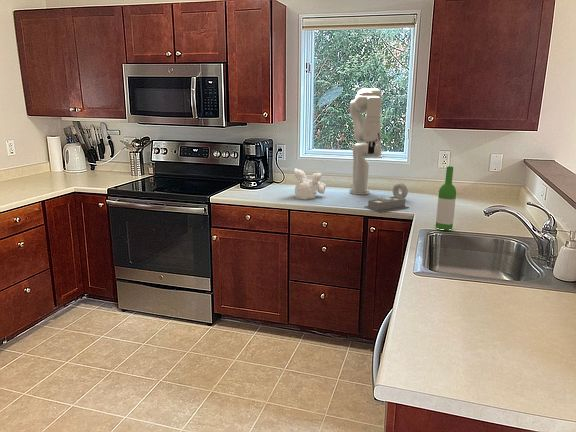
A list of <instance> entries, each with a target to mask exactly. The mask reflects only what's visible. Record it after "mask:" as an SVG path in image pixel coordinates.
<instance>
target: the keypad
mask: <svg viewBox="0 0 576 432" xmlns="http://www.w3.org/2000/svg"><path fill="white" fill-rule="evenodd" d="M387 197H388V198H398V200H395V199H393V200H392V201H385V200H382V199H381V198H382V197H381V198H373V199H367V201H368V203H367V205H364V206H363V207H364V208H367V209H368V210H369V209H370V210H372V211H376V212H378V213H382V214H383V213H388V212H393V211H399V210H400V211H401V210H405V209H406V210H407V209H409V208H410V207H409V206H406V202H407V201H406V198H400V197H397V196H394V195H393V196H387ZM375 201H382V202H379V203H378V202H375Z"/></svg>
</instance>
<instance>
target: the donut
mask: <svg viewBox="0 0 576 432" xmlns="http://www.w3.org/2000/svg"><path fill="white" fill-rule="evenodd" d="M399 189H400V190H401V193H400V192H399ZM408 193H409V191H408V188H407V186H406V185H405V184H404V183H401V182H398V183H396V184H395V185H393V187H392V194H393V196H397V197H400V198H404V199H406V198H407V196H408Z"/></svg>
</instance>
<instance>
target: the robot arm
mask: <svg viewBox="0 0 576 432" xmlns="http://www.w3.org/2000/svg"><path fill="white" fill-rule="evenodd" d="M382 98H383V97H382V91H381V90H380V89H379V88H369V87H368V88H367V87H364V88H361V89H359V90H358V91H357V94H356V96H355V97H354V99H352V100H351V101H350V102H349V113H350V117H351V120H352V122H353V134H354V135H353V138H354V140H355V142H356V143H354V144H353V146H352V157H353V161H352V162H353V165H352V166H353V167H352V183H351V184H350V185H349V186H348V187H349V188H351V189H350V190H349V193H350V194H352V195H369V194H370V190H369V189H368V185H369V182H368V181H369V163H368V161H366V159H378V158H380V157H381V156H382V142H381V138H382V137H381V134H382V133H381V132H382V130H381V129H382V127H381V126H382V125H381V123H380V122H381V110H382V104H383V101H382ZM363 114H366V115H365V116H364V115H363Z"/></svg>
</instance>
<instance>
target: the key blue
mask: <svg viewBox="0 0 576 432" xmlns="http://www.w3.org/2000/svg"><path fill="white" fill-rule="evenodd" d="M388 197H389V196H387V197H381V199H382V200H385V201H392V200H393V199H392V198H388Z"/></svg>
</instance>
